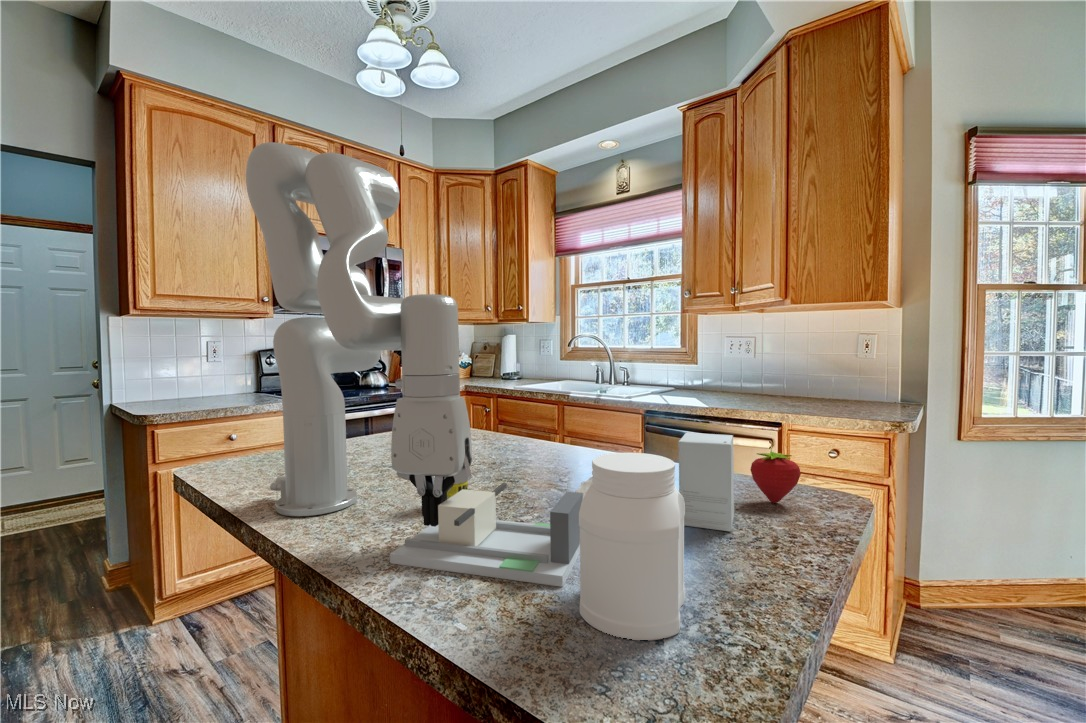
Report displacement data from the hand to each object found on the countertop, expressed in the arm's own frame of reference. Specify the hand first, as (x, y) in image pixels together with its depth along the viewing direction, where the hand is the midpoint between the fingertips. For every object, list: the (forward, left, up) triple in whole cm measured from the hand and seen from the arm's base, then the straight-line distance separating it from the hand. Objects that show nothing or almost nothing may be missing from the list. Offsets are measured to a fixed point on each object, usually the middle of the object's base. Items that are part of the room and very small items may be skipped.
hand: (434, 522), depth 66 cm
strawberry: (+47, +29, -3) cm, 55 cm away
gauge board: (+9, 0, -3) cm, 9 cm away
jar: (+28, -9, -3) cm, 29 cm away
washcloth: (+21, +22, -4) cm, 31 cm away
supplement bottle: (-4, +14, -3) cm, 15 cm away
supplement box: (+36, +18, -3) cm, 40 cm away
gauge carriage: (+5, 0, -1) cm, 5 cm away
